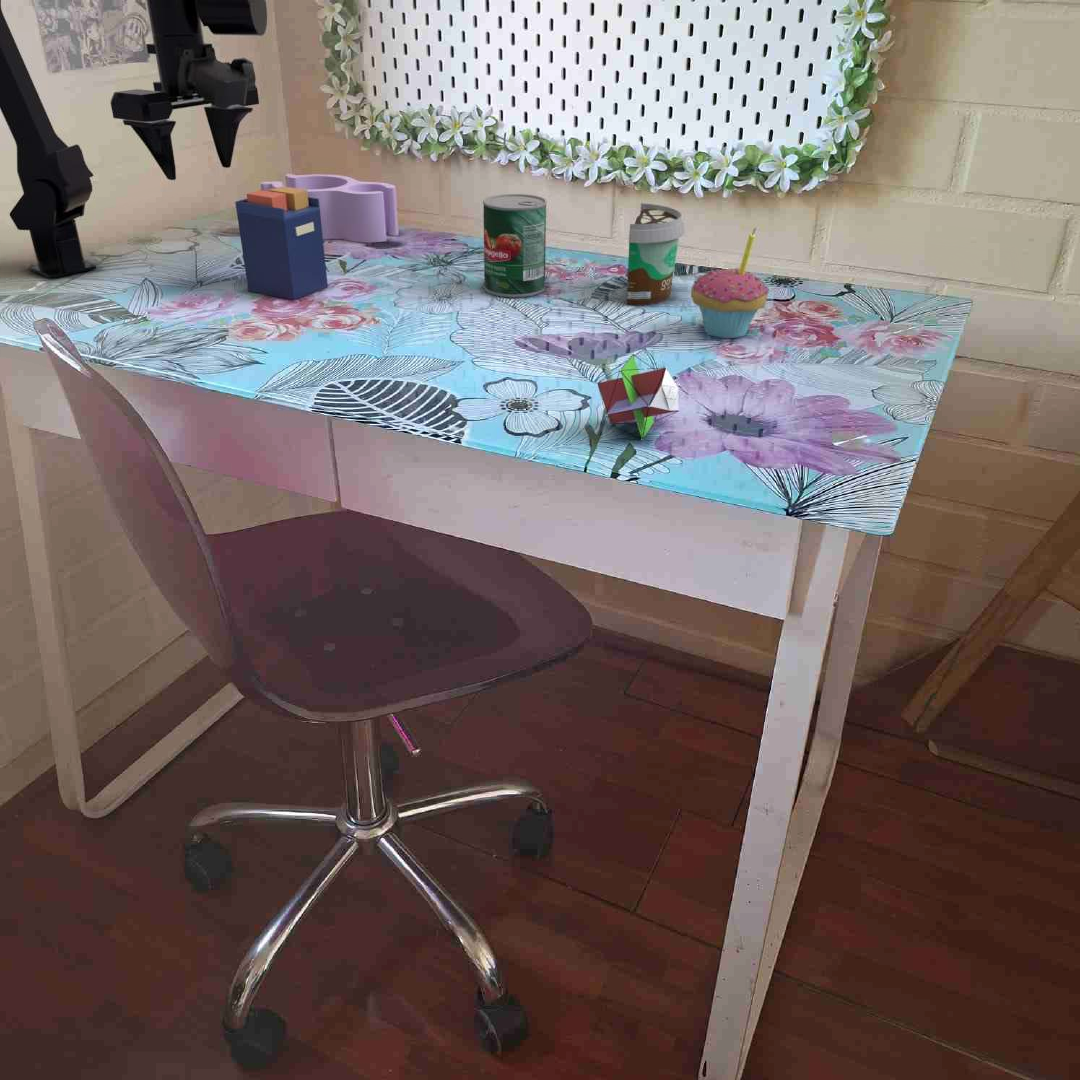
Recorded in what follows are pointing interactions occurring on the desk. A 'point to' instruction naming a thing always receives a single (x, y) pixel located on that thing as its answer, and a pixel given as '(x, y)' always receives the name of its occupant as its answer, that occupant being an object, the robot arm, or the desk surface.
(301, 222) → the blue storage box
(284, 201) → the block
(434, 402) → the desk surface
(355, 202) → the clip
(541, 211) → the canned tomato
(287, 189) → the snack bar tan
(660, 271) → the food container
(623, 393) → the geometric puzzle
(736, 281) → the cupcake
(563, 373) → the desk surface
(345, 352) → the desk surface
